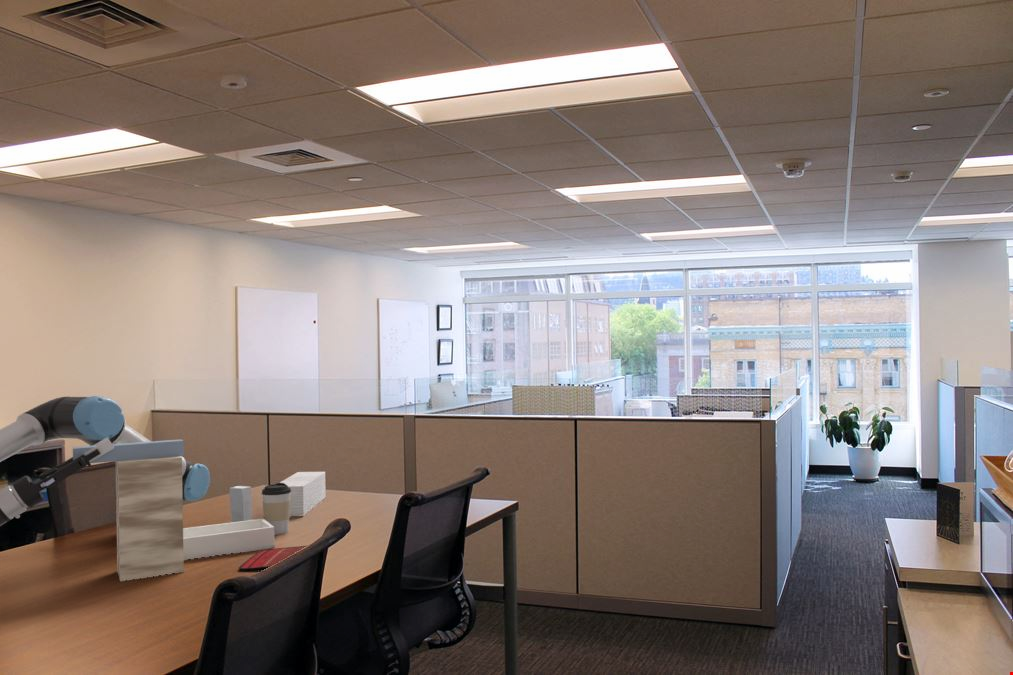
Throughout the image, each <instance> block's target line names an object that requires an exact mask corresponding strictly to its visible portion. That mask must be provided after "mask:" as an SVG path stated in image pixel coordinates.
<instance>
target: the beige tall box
mask: <svg viewBox="0 0 1013 675" xmlns="http://www.w3.org/2000/svg"><path fill="white" fill-rule="evenodd" d="M182 457H183V456H182ZM182 457H181V456H175V457H162V458H150V459H137V460H125V461H115V500H116V501H115V503H116V504H115V505H116V506H115V508H116V509H115V510H116V511H115V512H116V516H115V517H116V519H115V520H116V566H117V568H116V570H117V575H118V578H119V581H120V582H125V581H126V580H127V581H133V579H134V580H139V579H140V578H141V579H148V578H154V577H159V575H161V576H166V575H165V574H168V575H173V574H172V573H175V574H179V573H180V572H181V573H184V572H185V570H184V569H185V567H184V566H185V565H184V561H185V560H184V557H183V528H184V515H183V514H184V512H183V508H184V506H183V502H184V501H183V498H182ZM181 573H180V574H181ZM153 576H154V577H153ZM147 577H148V578H147ZM141 579H140V580H141Z"/></svg>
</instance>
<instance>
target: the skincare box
mask: <svg viewBox="0 0 1013 675" xmlns="http://www.w3.org/2000/svg"><path fill="white" fill-rule="evenodd" d="M252 499H253V498H252V486H245V485H237V486H232V487H229V505H230V507H229V508H230V523H231V522H239V521H247V520H254V518H253V501H252Z"/></svg>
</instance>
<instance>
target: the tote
mask: <svg viewBox="0 0 1013 675" xmlns="http://www.w3.org/2000/svg"><path fill="white" fill-rule="evenodd" d="M275 540H276V539H275V534H274V526H272V525H271V524H270V523H268V522H267V521H266V520H265V519H264V518H257V519H253V520H247V521H239V522H231V521H230V522H224V523H218V524H217V523H216V524H207V525H199V526H190V527H183V557H184V561H188V559H191V560H195V559H194V558H198V559H202V558H201V557H205V558H210V557H209V556H212V557H216V556H215V555H219V556H223V555H222V554H226V555H232V554H231V553H233V554H240V552H241V553H248V552H253V551H262V550H266V549H276V548H275V547H276V546H275V545H276V544H275V543H276V542H275Z"/></svg>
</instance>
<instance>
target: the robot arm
mask: <svg viewBox="0 0 1013 675" xmlns="http://www.w3.org/2000/svg"><path fill="white" fill-rule="evenodd" d="M122 411H123V409H122V408H121V406H120V405H119V403H118V402H116V401H115V400H113V399H111V398H109V397H104V396H97V395H95V396H61V397H56V398H53V399H51V400H48V401H46V402H44V403H41V404H39V405H37V406H35V407H33V408H31V409H29V410H27V411H25V412H23V413H21V414H19V415H18V416H17V417H16V421H14V422H12V423H10V424H8V425H6V426H4V427H2V428H1V429H0V463H1V462H2V461H5V460H6V459H8V458H10V457H12V456H14V455H16V454H17V453H19V452H21V451H23V450H25V449H27V448H28V447H30V446H39V445H42V444H44V443H45V442H46V443H47V441H52V440H57V439H71V440H72V439H75V440H76V439H77V440H81V441H82V442H84V443H86V444H87V445H88V446H95V445H97V446H96V447H94V448H92V449H90V450H89V451H87V452H85V453H84V455H81V456H80V457H78V458H77V459H75V460H73V456H72V457H70V458H68V459H67V460H65V461H63V462H62V463H60V464H58V465H56V466H53V467H51V468H50V469H48V470H46V471H44V472H42V473H40V474H39V475H38V478H37V479H36V480H34V481H33V480H32V478H31V477H30V476H29V475H24V476H22V477H20V478H19V479H17V480H15V481H14V482H13V483H12V485H9V484H8V485H6V486H5V487H3V488H1V489H0V527H2V526H3V525H5V524H6V523H7V522H9V521H11V520H12V519H14V518H15V519H20V518H21V515H22V514H23V513H25V512H26V511H27V509H29V508H33V507H36V506H37V505H38V504H40V503H42V502H43V501H44V498H45V497H44V496H43V493H42V491H44V490H45V489H47V490H48V491H49V490H50V489H52V488H54V487H55V486H56V485H57V484H59V483H61V482H63V481H64V480H65V479H67V478H69V477H70V476H71V475H73V474H76V473H77V472H78V471H80V470H83V468H86V467H88V468H89V467H91V466H92V463H90V462H92V461H94V460H95V459H97V458H99V457H100V456H102V455H104V454H105V453H107V452H109V451H110V450H112V449H114V446H113V445H112V444H123V443H137V442H151V441H152V440H150V439H148V438H147V437H145V436H144V435H142V434H141V433H140V432H139V431H137V430H136V429H134V428H132V427H131V426H130V425H128V424H127V423H126V418H125V415H124V413H122ZM181 457H182V498H183V502H185V501H186V502H189V503H190V502H197V501H199V500H201V499H203V498H204V496H205V495H206V494H207V492H208V489H209V488H210V487H209V486H210V484H211V478H210V477H211V475H210V470H209V468H208V467H207V466H206V465H205V464H201V463H199V462H198V463H194V462H191V461H190V460H188V459H187V458H185V457H184V456H181Z"/></svg>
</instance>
